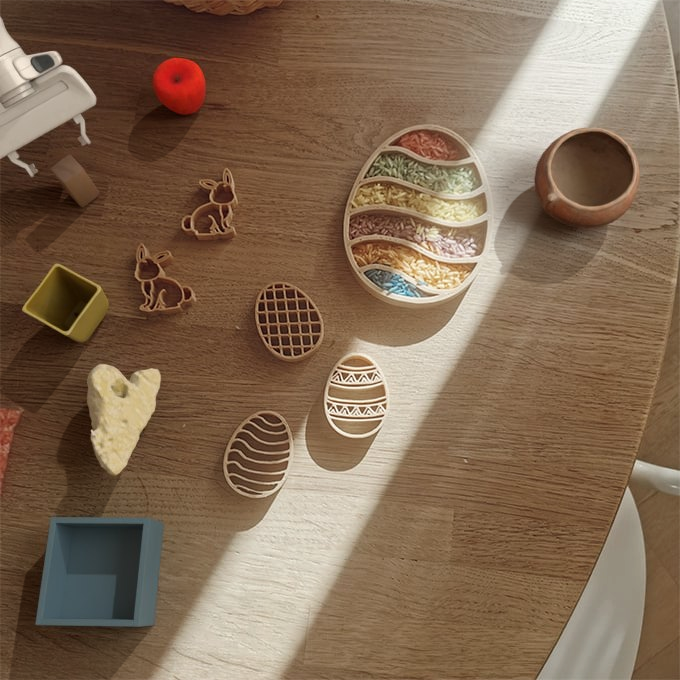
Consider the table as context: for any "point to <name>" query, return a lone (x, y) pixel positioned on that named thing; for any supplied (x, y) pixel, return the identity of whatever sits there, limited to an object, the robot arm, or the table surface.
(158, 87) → the apple
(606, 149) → the bowl
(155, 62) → the table surface
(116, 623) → the tub
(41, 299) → the flower pot
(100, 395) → the cheese
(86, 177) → the wooden block
